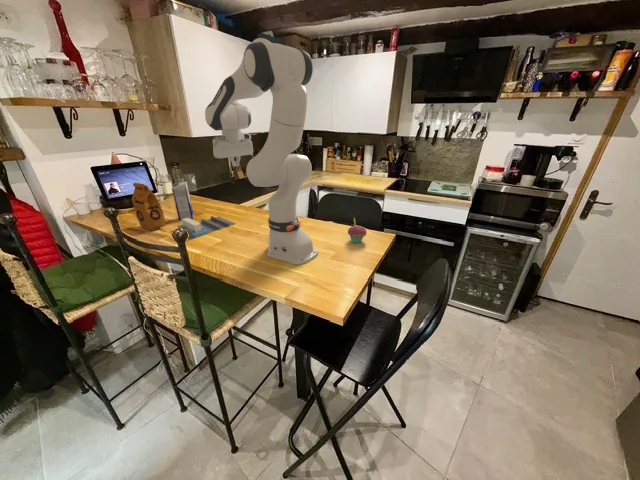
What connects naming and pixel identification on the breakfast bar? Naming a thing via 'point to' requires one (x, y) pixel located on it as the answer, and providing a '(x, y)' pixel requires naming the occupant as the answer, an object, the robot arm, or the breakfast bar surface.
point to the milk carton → (182, 200)
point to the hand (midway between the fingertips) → (235, 165)
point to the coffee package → (147, 208)
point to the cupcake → (356, 233)
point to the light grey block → (192, 225)
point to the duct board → (209, 226)
